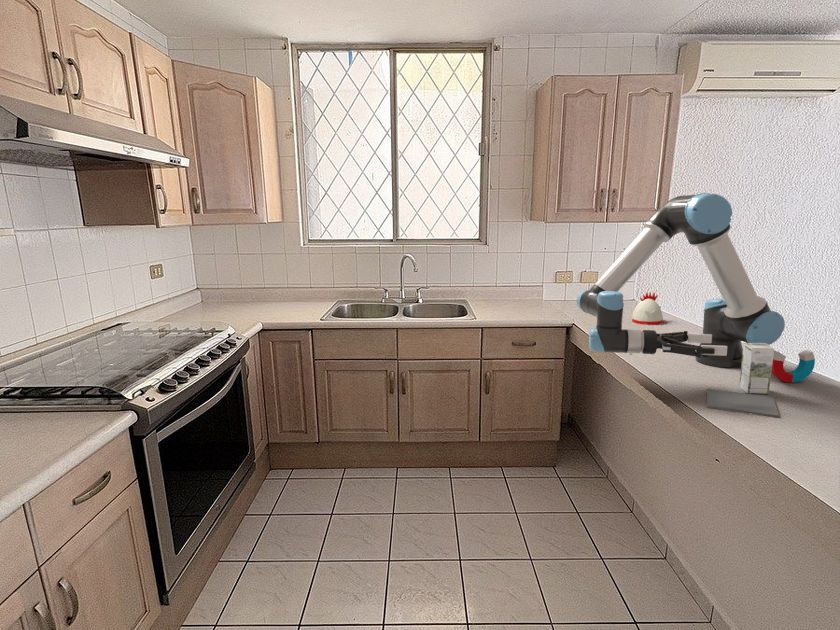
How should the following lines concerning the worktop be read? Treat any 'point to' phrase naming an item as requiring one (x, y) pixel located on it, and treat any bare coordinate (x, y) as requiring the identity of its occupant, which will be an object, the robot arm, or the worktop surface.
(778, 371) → the magnet
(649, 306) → the cream beanie hat
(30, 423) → the worktop surface
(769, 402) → the rubber mat
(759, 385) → the syrup box
